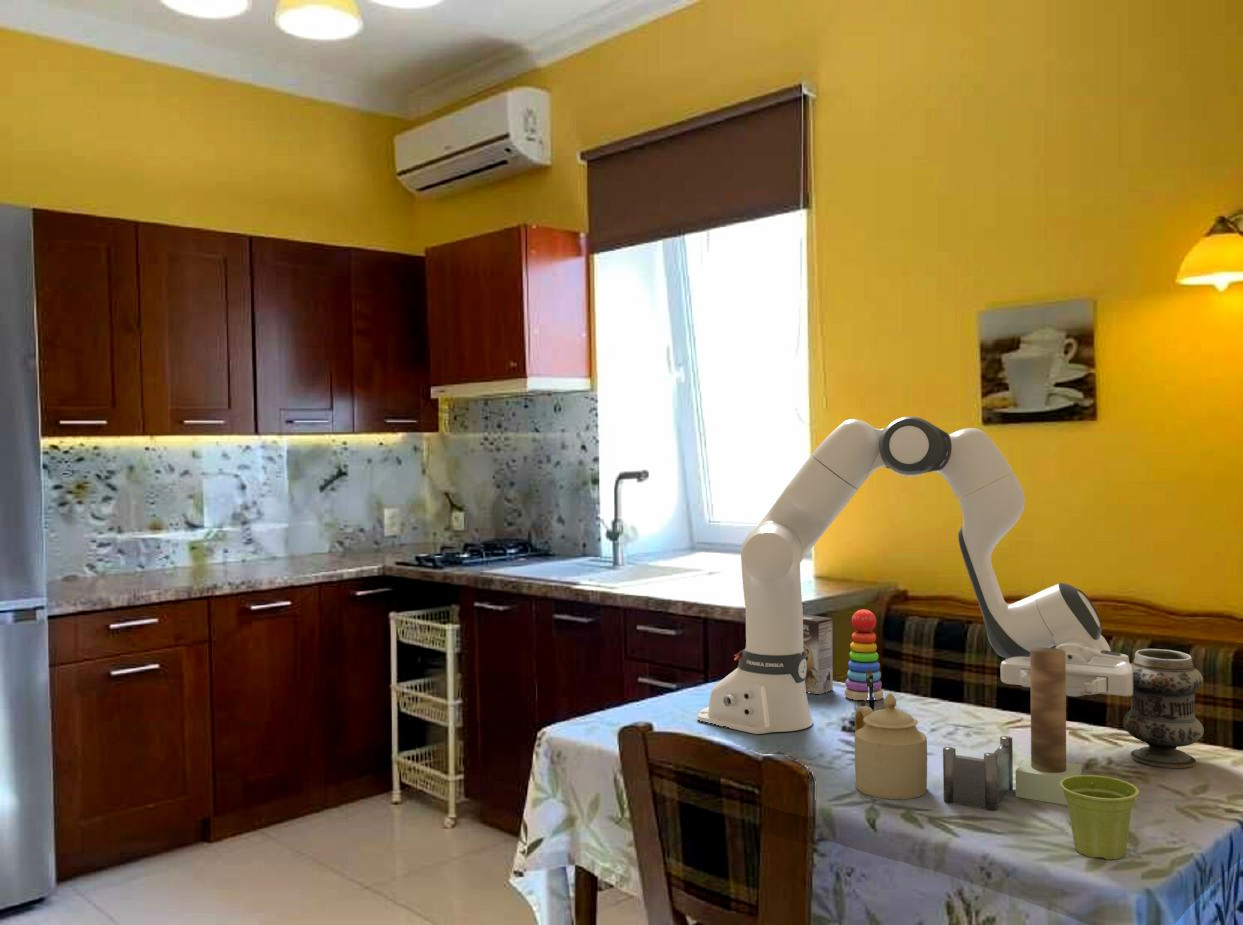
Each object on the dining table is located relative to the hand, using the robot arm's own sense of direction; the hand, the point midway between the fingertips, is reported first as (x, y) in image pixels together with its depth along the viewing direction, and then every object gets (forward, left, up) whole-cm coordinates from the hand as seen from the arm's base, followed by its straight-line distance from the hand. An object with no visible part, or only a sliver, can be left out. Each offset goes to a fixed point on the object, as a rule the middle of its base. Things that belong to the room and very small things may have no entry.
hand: (1057, 685), depth 164 cm
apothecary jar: (+13, +20, -15) cm, 28 cm away
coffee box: (-58, +37, -15) cm, 70 cm away
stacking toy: (-45, +36, -15) cm, 59 cm away
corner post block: (-9, -13, -15) cm, 22 cm away
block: (0, -7, -15) cm, 17 cm away
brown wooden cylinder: (0, -7, -11) cm, 13 cm away
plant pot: (+10, -27, -15) cm, 33 cm away
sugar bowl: (-23, -16, -15) cm, 32 cm away
